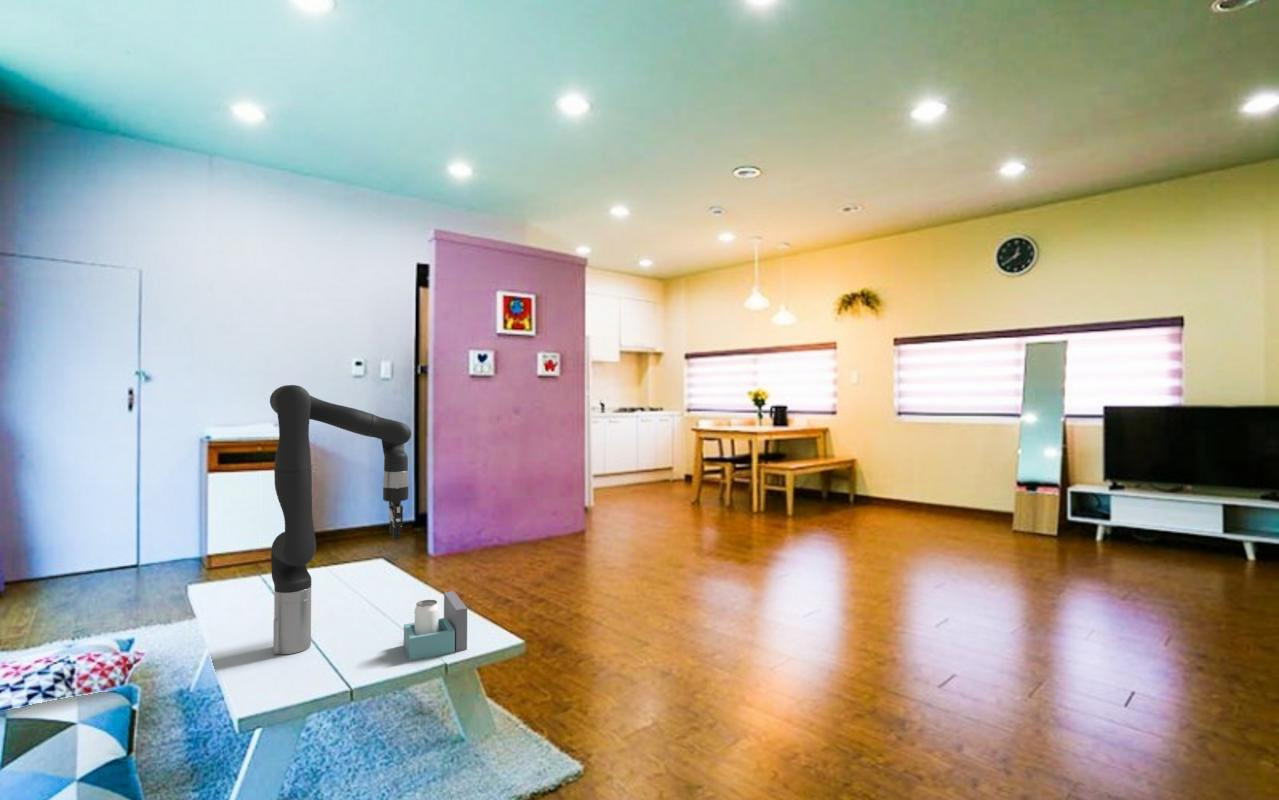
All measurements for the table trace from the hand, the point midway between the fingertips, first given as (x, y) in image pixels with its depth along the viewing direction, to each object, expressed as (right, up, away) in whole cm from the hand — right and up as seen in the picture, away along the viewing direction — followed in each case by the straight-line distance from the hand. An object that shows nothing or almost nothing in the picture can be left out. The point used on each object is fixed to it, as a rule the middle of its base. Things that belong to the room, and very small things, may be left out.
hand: (395, 536), depth 193 cm
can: (+16, -27, -19) cm, 37 cm away
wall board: (+23, -28, -12) cm, 38 cm away
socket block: (+17, -28, -19) cm, 38 cm away
